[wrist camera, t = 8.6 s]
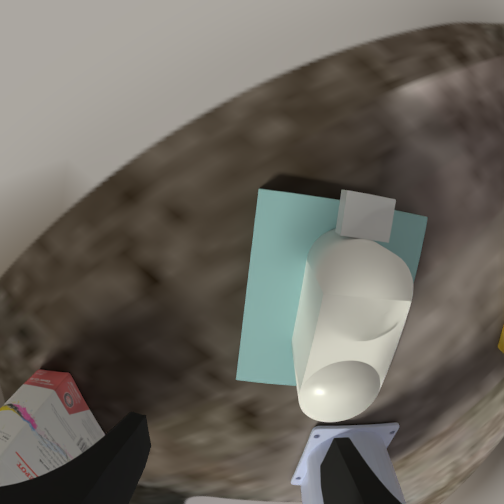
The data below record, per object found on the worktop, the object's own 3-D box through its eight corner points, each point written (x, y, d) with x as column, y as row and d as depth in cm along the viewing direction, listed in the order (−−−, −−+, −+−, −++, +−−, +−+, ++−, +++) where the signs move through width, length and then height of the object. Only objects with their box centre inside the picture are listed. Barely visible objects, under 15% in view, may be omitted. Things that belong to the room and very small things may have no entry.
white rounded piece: (346, 369, 18) (365, 421, 13) (286, 365, 18) (291, 421, 13) (386, 198, 15) (432, 207, 10) (317, 185, 15) (341, 188, 10)
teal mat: (373, 377, 19) (378, 387, 18) (237, 369, 19) (236, 379, 18) (418, 214, 16) (427, 217, 15) (259, 188, 16) (258, 189, 15)
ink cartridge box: (37, 367, 21) (-51, 458, 7) (71, 371, 21) (-22, 483, 6) (73, 430, 23) (14, 523, 9) (108, 437, 22) (52, 546, 8)
